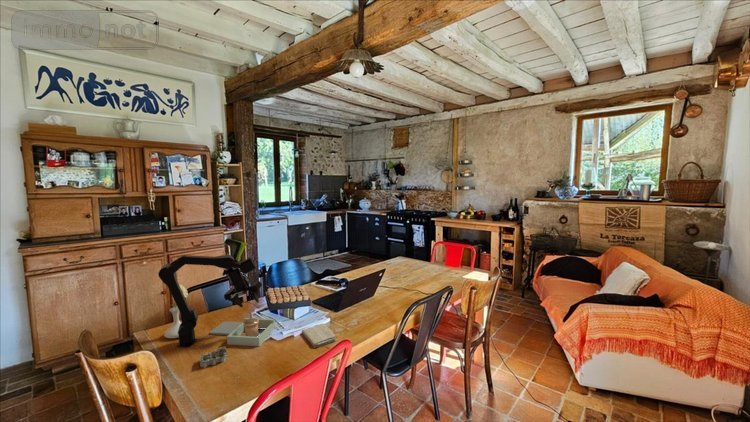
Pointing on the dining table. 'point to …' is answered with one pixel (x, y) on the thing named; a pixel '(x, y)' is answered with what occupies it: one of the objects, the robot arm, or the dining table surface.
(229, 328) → the slate tile
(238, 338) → the frame
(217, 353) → the egg carton
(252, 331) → the terracotta pot
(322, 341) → the washcloth
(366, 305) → the dining table surface
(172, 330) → the flower in vase
